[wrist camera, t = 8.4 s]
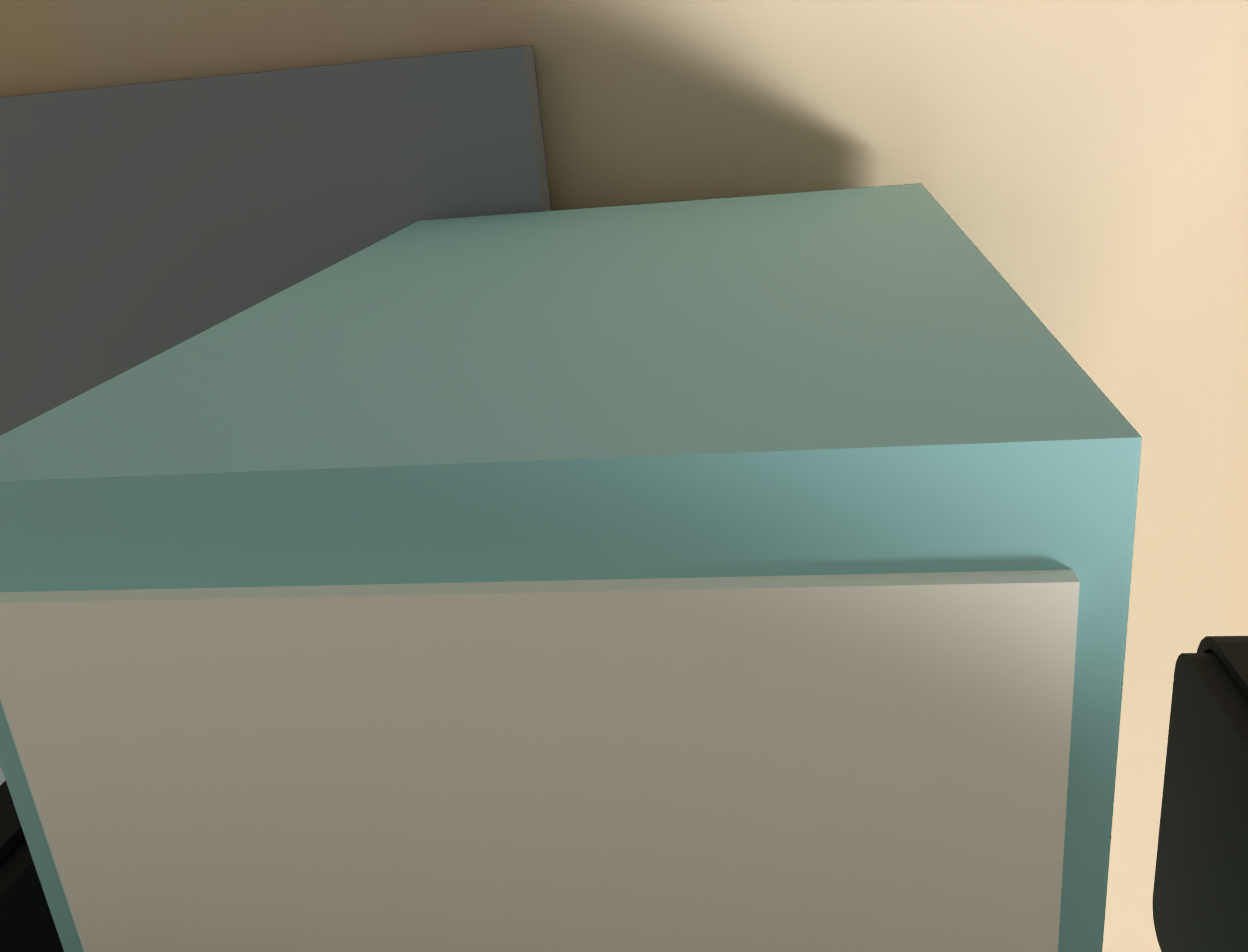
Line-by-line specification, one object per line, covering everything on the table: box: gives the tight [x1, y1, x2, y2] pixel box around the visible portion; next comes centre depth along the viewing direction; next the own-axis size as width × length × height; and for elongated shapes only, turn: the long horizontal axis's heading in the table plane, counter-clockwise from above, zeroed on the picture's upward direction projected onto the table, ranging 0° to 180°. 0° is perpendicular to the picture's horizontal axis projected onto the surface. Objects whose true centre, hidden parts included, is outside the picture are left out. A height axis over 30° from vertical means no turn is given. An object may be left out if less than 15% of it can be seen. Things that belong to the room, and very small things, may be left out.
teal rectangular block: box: [0, 183, 1142, 952], centre depth 9 cm, size 5×10×7 cm, turn 5°
